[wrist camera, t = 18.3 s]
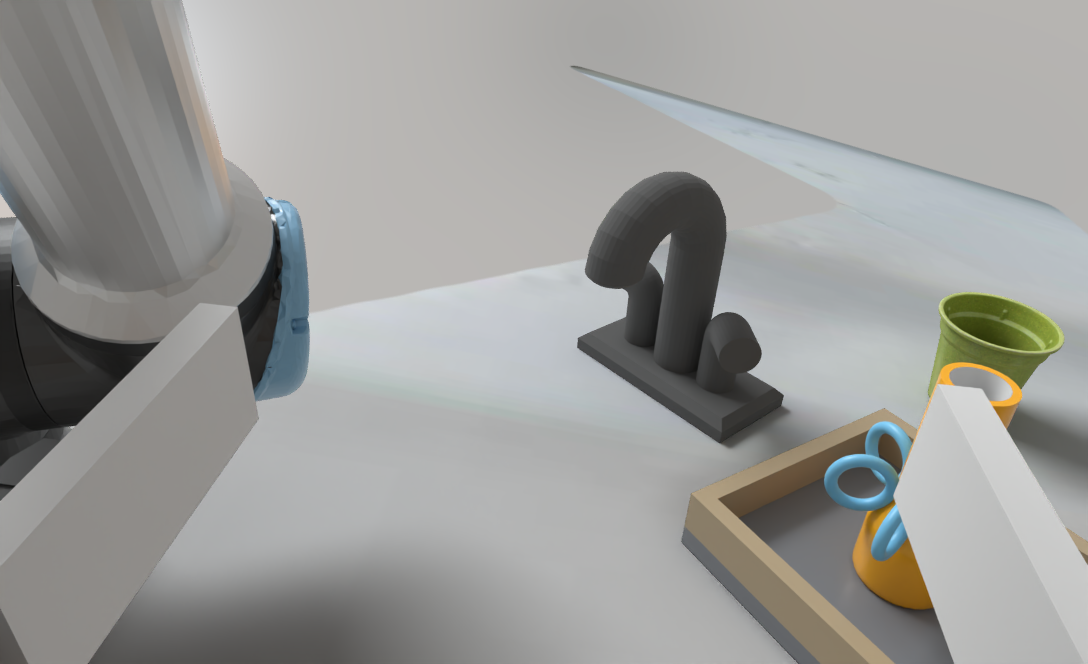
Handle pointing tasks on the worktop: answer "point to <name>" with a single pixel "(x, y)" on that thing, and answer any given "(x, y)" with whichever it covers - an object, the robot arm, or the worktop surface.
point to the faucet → (676, 307)
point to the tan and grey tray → (812, 554)
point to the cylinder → (883, 536)
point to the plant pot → (994, 335)
